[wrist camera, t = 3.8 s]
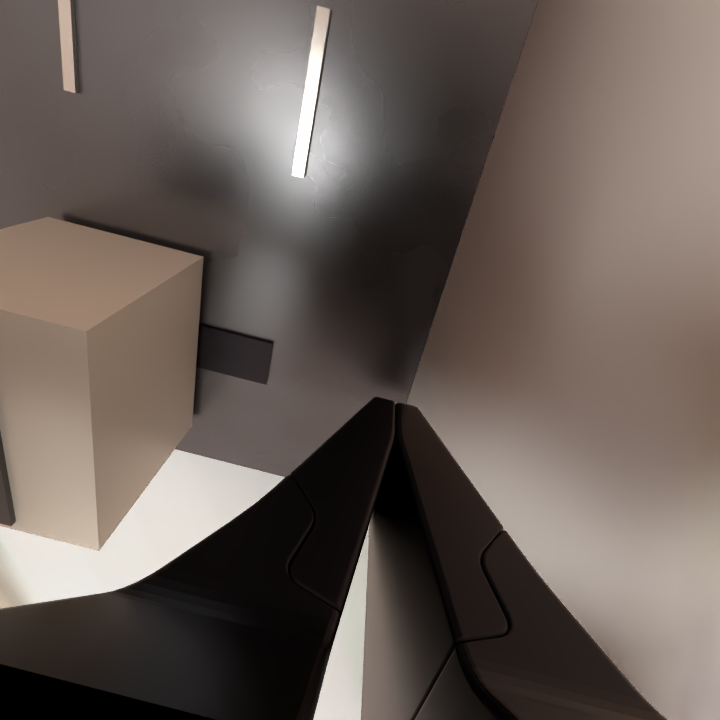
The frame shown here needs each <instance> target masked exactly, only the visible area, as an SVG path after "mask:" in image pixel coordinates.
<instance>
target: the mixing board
mask: <svg viewBox="0 0 720 720" xmlns="http://www.w3.org/2000/svg"><path fill="white" fill-rule="evenodd" d="M537 3H538V0H0V229H3V228H7V227H11V226H15V225H18V224H22V223H26V222H30V221H34V220H38V219H41V218H45V217H51V218H55V219H59V220H63V221H66V222H70V223H74V224H78V225H82V226H86V227H90V228H94V229H98V230H102V231H105V232H109V233H113V234H117V235H121V236H125V237H129V238H133V239H137V240H140V241H144V242H148V243H152V244H156V245H160V246H164V247H168V248H172V249H176V250H179V251H183V252H187V253H191V254H195V255H199V256H203V257H204V258H203V273H202V288H201V302H200V317H199V331H198V346H197V361H196V375H195V390H194V404H193V419H192V426H191V428H190V429H189V430H188V432H187V433H186V434H185V436H184V437H183V438H182V440H181V441H180V442H179V444H178V445H177V446H176V448H175V449H177V450H181V451H185V452H189V453H193V454H197V455H201V456H205V457H209V458H213V459H217V460H221V461H225V462H229V463H232V464H236V465H240V466H244V467H248V468H252V469H256V470H260V471H264V472H268V473H272V474H276V475H280V476H284V477H286V476H288V475H290V473H291V472H292V471H293V470H294V469H296V468H297V467H298V466H299V465H300V464H301V463H302V462H303V461H304V460H305V459H307V458H308V457H309V456H310V455H311V454H312V453H313V452H314V451H315V450H316V449H318V448H319V447H320V446H321V445H322V444H323V443H324V442H325V441H326V440H327V439H329V438H330V437H331V436H332V435H333V434H334V433H335V432H336V431H337V430H338V429H339V428H341V427H342V426H343V425H344V424H345V423H346V422H347V421H348V420H349V419H350V418H352V417H353V416H354V415H355V414H356V413H357V412H358V411H359V410H360V409H361V408H363V407H364V406H365V405H366V404H367V403H368V402H369V401H370V400H371V399H372V398H374V397H380V398H384V399H388V400H392V401H394V402H395V405H396V404H397V403H404V404H406V401H407V398H408V395H409V392H410V389H411V386H412V383H413V380H414V377H415V374H416V371H417V368H418V365H419V362H420V359H421V356H422V353H423V350H424V347H425V344H426V341H427V337H428V334H429V331H430V328H431V325H432V322H433V319H434V316H435V313H436V310H437V307H438V304H439V301H440V298H441V295H442V292H443V289H444V286H445V283H446V280H447V277H448V274H449V271H450V267H451V264H452V261H453V258H454V255H455V252H456V249H457V246H458V243H459V240H460V237H461V234H462V231H463V228H464V225H465V222H466V219H467V216H468V213H469V210H470V207H471V204H472V201H473V197H474V194H475V191H476V188H477V185H478V182H479V179H480V176H481V173H482V170H483V167H484V164H485V161H486V158H487V155H488V152H489V149H490V146H491V143H492V140H493V137H494V134H495V131H496V127H497V124H498V121H499V118H500V115H501V112H502V109H503V106H504V103H505V100H506V97H507V94H508V91H509V88H510V85H511V82H512V79H513V76H514V73H515V70H516V67H517V64H518V61H519V57H520V54H521V51H522V48H523V45H524V42H525V39H526V36H527V33H528V30H529V27H530V24H531V21H532V18H533V15H534V12H535V9H536V6H537Z"/></svg>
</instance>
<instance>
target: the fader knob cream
mask: <svg viewBox="0 0 720 720" xmlns="http://www.w3.org/2000/svg"><path fill="white" fill-rule="evenodd" d="M203 258H204V257H203V256H199V255H195V254H191V253H187V252H183V251H179V250H176V249H172V248H168V247H164V246H160V245H156V244H152V243H148V242H144V241H140V240H137V239H133V238H129V237H125V236H121V235H117V234H113V233H109V232H105V231H102V230H98V229H94V228H90V227H86V226H82V225H78V224H74V223H70V222H66V221H63V220H59V219H55V218H51V217H45V218H41V219H38V220H34V221H30V222H26V223H22V224H18V225H15V226H11V227H7V228H3V229H0V526H3V527H7V528H11V529H15V530H19V531H23V532H27V533H31V534H35V535H39V536H43V537H47V538H51V539H55V540H58V541H62V542H66V543H70V544H74V545H78V546H82V547H86V548H90V549H94V550H98V551H99V550H100V549H101V547H102V546H103V545H104V543H105V542H106V541H107V539H108V538H109V537H110V535H111V534H112V533H113V531H114V530H115V529H116V527H117V526H118V525H119V523H120V522H121V521H122V519H123V518H124V516H125V515H126V514H127V512H128V511H129V510H130V508H131V507H132V506H133V504H134V503H135V502H136V500H137V499H138V498H139V496H140V495H141V494H142V492H143V491H144V490H145V488H146V487H147V486H148V484H149V483H150V481H151V480H152V479H153V477H154V476H155V475H156V473H157V472H158V471H159V469H160V468H161V467H162V465H163V464H164V463H165V461H166V460H167V459H168V457H169V456H170V455H171V453H172V452H173V450H174V449H175V448H176V446H177V445H178V444H179V442H180V441H181V440H182V438H183V437H184V436H185V434H186V433H187V432H188V430H189V429H190V428H191V426H192V419H193V404H194V390H195V375H196V361H197V346H198V331H199V317H200V302H201V288H202V273H203Z"/></svg>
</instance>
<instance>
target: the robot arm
mask: <svg viewBox="0 0 720 720" xmlns="http://www.w3.org/2000/svg"><path fill="white" fill-rule="evenodd" d="M369 523H370V527H369V549H368V572H367V595H366V618H365V641H364V663H363V686H362V709H361V720H667V719H666V718H664V717H663V716H662V715H661V714H660V713H659V712H658V711H657V710H655V709H654V708H653V707H652V706H651V705H650V704H649V703H648V702H647V701H646V700H645V699H644V698H643V697H642V695H641V694H640V693H639V692H638V691H637V690H636V689H635V688H634V687H633V686H632V684H631V683H630V682H629V681H628V680H627V679H626V677H625V676H624V675H623V674H622V673H621V672H620V670H619V669H618V668H617V667H616V666H615V664H614V663H613V662H612V661H611V660H610V659H609V657H608V656H607V655H606V654H605V653H604V652H603V650H602V649H601V648H600V647H599V646H598V645H597V643H596V642H595V641H594V640H593V639H592V638H591V636H590V635H589V634H588V633H587V632H586V631H585V629H584V628H583V627H582V626H581V625H580V624H579V622H578V621H577V620H576V619H575V618H574V617H573V615H572V614H571V613H570V612H569V611H568V610H567V608H566V607H565V606H564V605H563V604H562V602H561V601H560V600H559V599H558V598H557V596H556V595H555V594H554V593H553V592H552V590H551V589H550V588H549V587H548V585H547V584H546V583H545V582H544V581H543V579H542V578H541V577H540V576H539V574H538V573H537V572H536V570H535V569H534V568H533V567H532V565H531V564H530V563H529V561H528V560H527V559H526V557H525V556H524V555H523V553H522V552H521V551H520V549H519V548H518V547H517V545H516V544H515V542H514V541H513V540H512V538H511V537H510V535H509V534H508V533H507V531H505V530H503V526H502V525H501V523H500V522H499V520H498V519H497V518H496V516H495V515H494V513H493V512H492V511H491V509H490V508H489V506H488V505H487V504H486V502H485V501H484V500H483V498H482V497H481V495H480V494H479V493H478V491H477V490H476V488H475V487H474V486H473V484H472V483H471V481H470V480H469V479H468V477H467V476H466V474H465V473H464V472H463V470H462V469H461V467H460V466H459V465H458V463H457V462H456V461H455V459H454V458H453V456H452V455H451V454H450V452H449V451H448V449H447V448H446V447H445V445H444V444H443V442H442V441H441V440H440V438H439V437H438V435H437V434H436V433H435V431H434V430H433V428H432V427H431V426H430V424H429V423H428V421H427V420H426V419H425V417H424V416H423V415H422V413H421V412H420V410H419V409H418V408H417V407H415V406H411V405H407V404H404V403H397V404H396V405H395V402H394V401H392V400H388V399H384V398H380V397H374V398H372V399H371V400H370V401H369V402H368V403H367V404H366V405H365V406H364V407H363V408H361V409H360V410H359V411H358V412H357V413H356V414H355V415H354V416H353V417H352V418H350V419H349V420H348V421H347V422H346V423H345V424H344V425H343V426H342V427H341V428H339V429H338V430H337V431H336V432H335V433H334V434H333V435H332V436H331V437H330V438H329V439H327V440H326V441H325V442H324V443H323V444H322V445H321V446H320V447H319V448H318V449H316V450H315V451H314V452H313V453H312V454H311V455H310V456H309V457H308V458H307V459H305V460H304V461H303V462H302V463H301V464H300V465H299V466H298V467H297V468H296V469H294V470H293V471H292V472H291V473H290V475H288V476H286V477H285V478H284V479H283V480H282V481H281V482H280V483H279V484H278V485H277V486H276V487H274V488H273V489H272V490H271V491H270V492H268V493H267V494H266V495H265V496H264V497H262V498H261V499H260V500H259V501H258V502H256V503H255V504H254V505H253V506H251V507H250V508H248V509H247V510H246V511H244V512H243V513H241V514H240V515H239V516H237V517H236V518H234V519H233V520H232V521H230V522H229V523H227V524H226V525H224V526H223V527H221V528H220V529H218V530H217V531H215V532H214V533H212V534H211V535H209V536H208V537H206V538H205V539H204V540H202V541H201V542H199V543H198V544H196V545H195V546H193V547H192V548H190V549H189V550H187V551H186V552H184V553H183V554H181V555H180V556H178V557H177V558H175V559H174V560H172V561H171V562H169V563H168V564H166V565H165V566H163V567H162V568H160V569H159V570H157V571H156V572H154V573H153V574H151V575H149V576H147V577H145V578H143V579H142V580H140V581H138V582H136V583H133V584H131V585H129V586H126V587H124V588H121V589H118V590H115V591H111V592H107V593H101V594H95V595H88V596H81V597H75V598H68V599H62V600H55V601H49V602H42V603H35V604H29V605H22V606H16V607H9V608H3V609H0V720H313V718H314V714H315V710H316V706H317V702H318V699H319V695H320V691H321V687H322V683H323V679H324V675H325V671H326V667H327V663H328V660H329V656H330V652H331V649H332V645H333V642H334V639H335V635H336V632H337V628H338V625H339V622H340V618H341V615H342V612H343V609H344V605H345V602H346V599H347V596H348V592H349V589H350V586H351V582H352V579H353V576H354V573H355V569H356V566H357V563H358V559H359V556H360V553H361V550H362V546H363V543H364V540H365V536H366V533H367V530H368V526H369Z"/></svg>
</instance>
